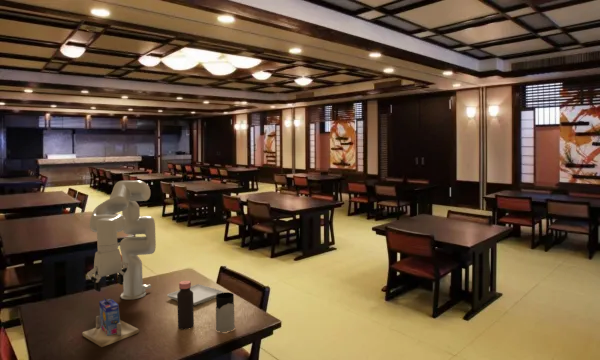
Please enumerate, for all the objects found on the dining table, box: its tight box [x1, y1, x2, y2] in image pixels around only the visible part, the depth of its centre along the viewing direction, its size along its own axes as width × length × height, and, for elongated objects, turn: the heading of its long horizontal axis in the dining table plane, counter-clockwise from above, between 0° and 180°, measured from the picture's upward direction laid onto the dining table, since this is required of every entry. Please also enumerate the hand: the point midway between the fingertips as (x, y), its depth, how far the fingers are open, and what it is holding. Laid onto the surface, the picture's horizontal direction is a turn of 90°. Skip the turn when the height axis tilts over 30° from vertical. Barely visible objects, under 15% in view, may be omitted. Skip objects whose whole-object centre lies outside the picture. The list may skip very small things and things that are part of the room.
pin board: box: [82, 315, 140, 348], centre depth 172 cm, size 16×16×6 cm
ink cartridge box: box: [98, 297, 121, 336], centre depth 171 cm, size 10×6×14 cm, turn 42°
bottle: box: [176, 280, 195, 330], centre depth 178 cm, size 7×7×20 cm
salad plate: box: [166, 283, 224, 306], centre depth 213 cm, size 21×21×3 cm
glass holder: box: [215, 291, 236, 332], centre depth 179 cm, size 9×14×15 cm, turn 32°
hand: (109, 287), depth 171 cm, fingers open, 9 cm apart
